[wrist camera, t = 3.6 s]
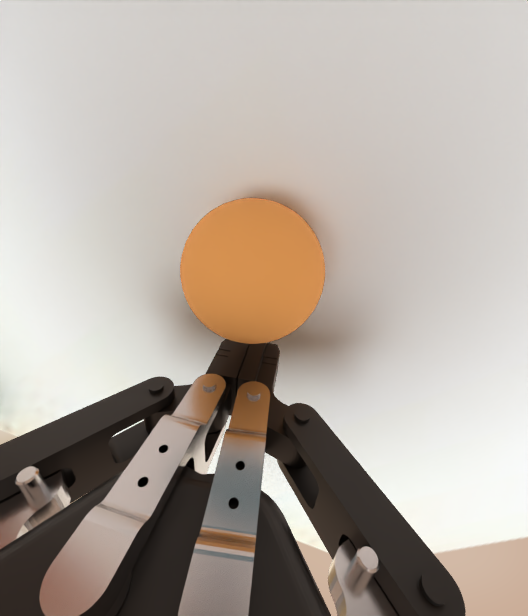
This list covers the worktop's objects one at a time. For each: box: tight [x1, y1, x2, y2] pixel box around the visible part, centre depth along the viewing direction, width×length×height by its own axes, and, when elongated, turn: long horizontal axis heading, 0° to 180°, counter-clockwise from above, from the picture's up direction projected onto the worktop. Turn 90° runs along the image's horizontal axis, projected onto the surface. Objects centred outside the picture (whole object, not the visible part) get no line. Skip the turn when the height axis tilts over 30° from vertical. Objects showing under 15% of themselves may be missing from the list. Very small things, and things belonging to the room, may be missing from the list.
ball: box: [180, 198, 325, 344], centre depth 11 cm, size 6×6×6 cm
